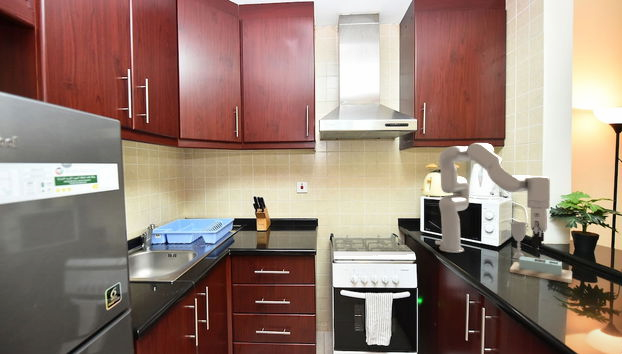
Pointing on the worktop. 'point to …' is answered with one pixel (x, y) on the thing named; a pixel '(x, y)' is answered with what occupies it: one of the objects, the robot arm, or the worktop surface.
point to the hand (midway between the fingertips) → (538, 243)
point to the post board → (564, 277)
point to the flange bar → (540, 265)
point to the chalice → (518, 235)
